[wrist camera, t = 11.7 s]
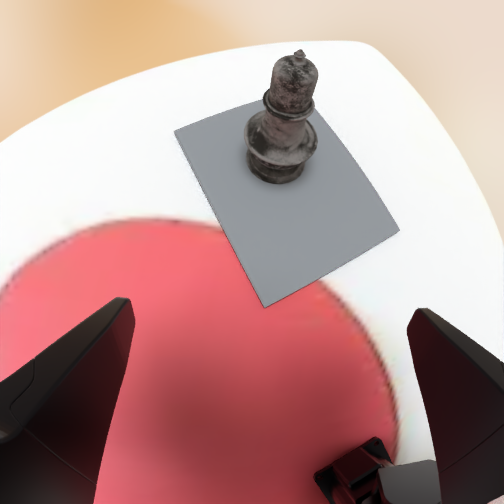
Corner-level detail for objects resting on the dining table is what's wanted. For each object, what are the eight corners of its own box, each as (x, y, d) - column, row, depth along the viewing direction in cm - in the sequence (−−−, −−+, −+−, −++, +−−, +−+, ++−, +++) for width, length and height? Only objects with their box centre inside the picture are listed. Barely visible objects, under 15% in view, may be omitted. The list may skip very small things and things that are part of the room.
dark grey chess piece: (315, 147, 25) (357, 46, 14) (296, 197, 24) (340, 95, 12) (257, 125, 26) (269, 18, 14) (231, 172, 24) (230, 60, 12)
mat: (397, 231, 24) (400, 230, 24) (264, 308, 22) (264, 307, 21) (297, 91, 28) (298, 89, 27) (174, 133, 25) (173, 131, 25)
